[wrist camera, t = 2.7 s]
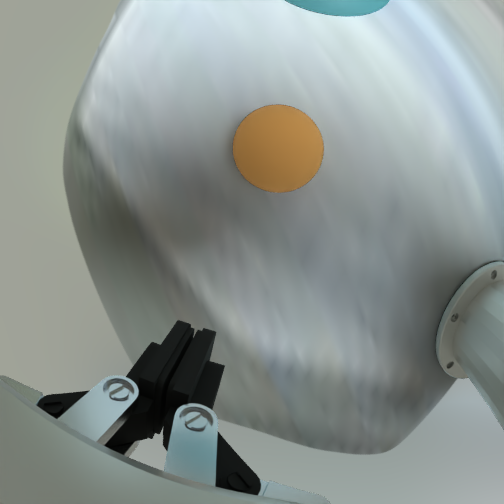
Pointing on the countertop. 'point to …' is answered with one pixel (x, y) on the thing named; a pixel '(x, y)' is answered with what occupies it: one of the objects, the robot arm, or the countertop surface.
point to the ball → (278, 148)
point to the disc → (341, 6)
